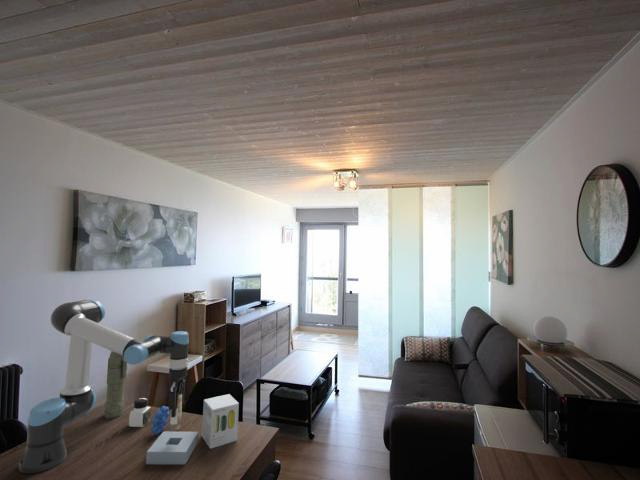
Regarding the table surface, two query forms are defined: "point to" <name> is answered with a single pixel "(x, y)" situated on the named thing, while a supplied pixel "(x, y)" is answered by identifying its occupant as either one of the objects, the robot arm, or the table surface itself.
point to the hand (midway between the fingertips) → (175, 420)
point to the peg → (179, 406)
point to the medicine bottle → (140, 413)
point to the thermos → (115, 385)
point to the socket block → (172, 448)
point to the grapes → (160, 420)
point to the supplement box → (220, 420)
